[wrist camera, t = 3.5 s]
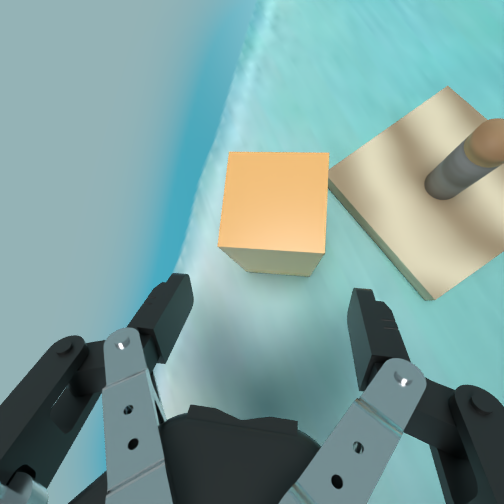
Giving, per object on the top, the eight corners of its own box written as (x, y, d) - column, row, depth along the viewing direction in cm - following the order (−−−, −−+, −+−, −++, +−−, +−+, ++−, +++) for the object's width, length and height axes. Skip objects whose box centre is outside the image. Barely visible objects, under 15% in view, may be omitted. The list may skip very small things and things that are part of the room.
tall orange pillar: (312, 216, 24) (329, 152, 14) (309, 276, 23) (324, 253, 13) (252, 213, 25) (228, 151, 15) (246, 271, 24) (217, 246, 14)
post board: (438, 98, 24) (501, 10, 17) (557, 205, 21) (698, 152, 14) (322, 180, 24) (336, 126, 17) (425, 300, 21) (496, 296, 14)
